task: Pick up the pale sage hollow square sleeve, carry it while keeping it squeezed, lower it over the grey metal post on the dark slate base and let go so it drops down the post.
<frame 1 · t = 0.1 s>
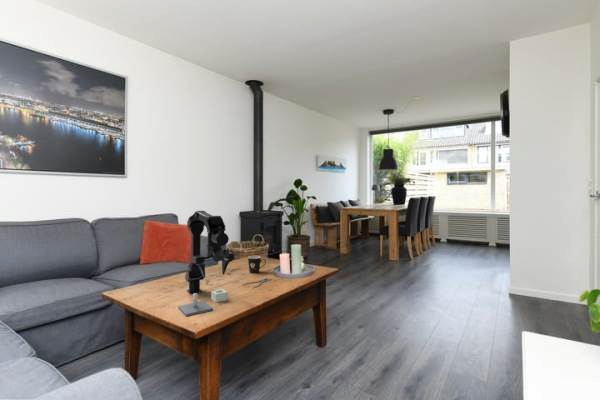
hand: (214, 276, 148), 14 cm above the table, tool pointing down, fingers open, 9 cm apart
post stand: (195, 309, 145), on the table
coffee mug: (255, 272, 211), on the table
hollow square sleeve: (219, 299, 158), on the table
pliers: (256, 283, 188), on the table
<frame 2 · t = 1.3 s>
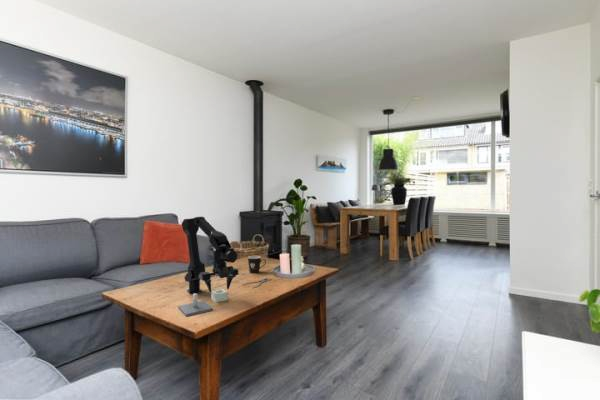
hand: (219, 290, 158), 4 cm above the table, tool pointing down, fingers open, 9 cm apart
nothing on the table moved.
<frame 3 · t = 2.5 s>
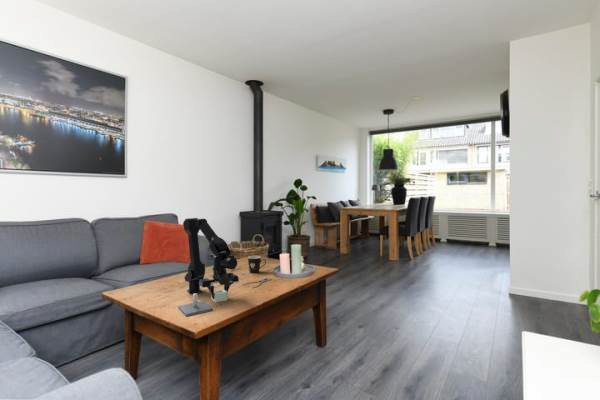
hand: (219, 297, 158), 1 cm above the table, tool pointing down, fingers closed on hollow square sleeve, 6 cm apart
hollow square sleeve: (219, 299, 158), on the table, touching gripper
everything else where it was.
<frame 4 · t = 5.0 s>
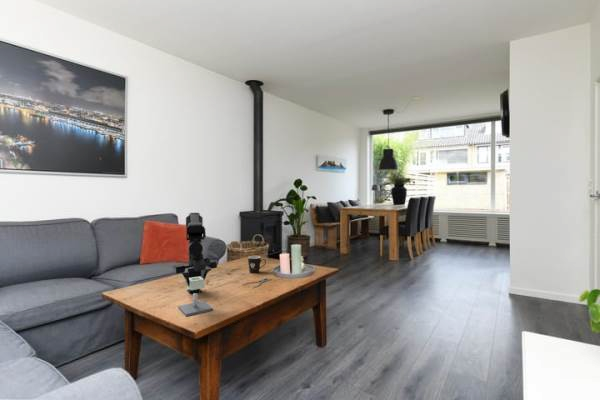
hand: (195, 285, 145), 11 cm above the table, tool pointing down, fingers closed on hollow square sleeve, 6 cm apart
hollow square sleeve: (195, 287, 145), point 10 cm above the table, touching gripper
everything else where it was.
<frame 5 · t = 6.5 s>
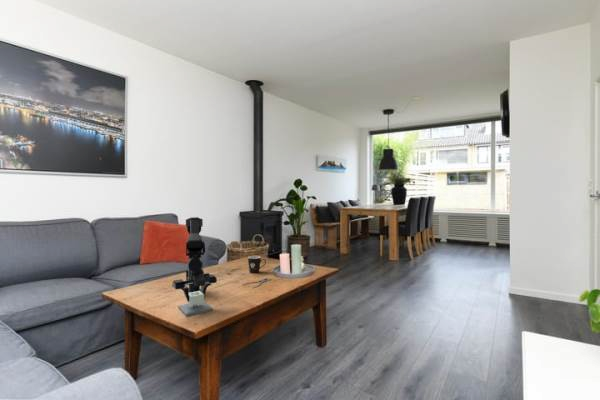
hand: (195, 300, 145), 4 cm above the table, tool pointing down, fingers closed on hollow square sleeve, 6 cm apart
hollow square sleeve: (195, 302, 145), point 3 cm above the table, touching gripper
everything else where it was.
when the fingers open (3 cm above the table, at t = 7.6 s): hollow square sleeve drops 1 cm, resting on post stand.
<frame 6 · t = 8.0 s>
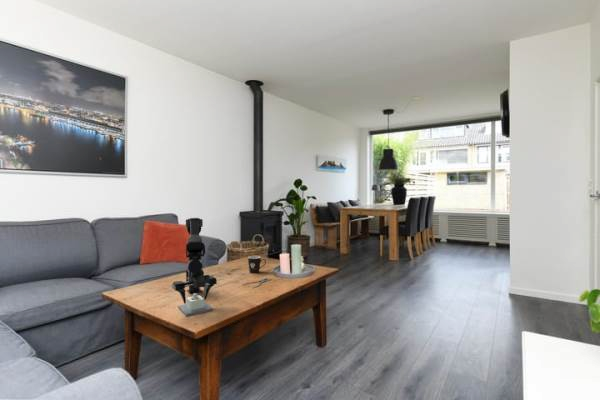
hand: (195, 301, 145), 3 cm above the table, tool pointing down, fingers open, 9 cm apart
hollow square sleeve: (195, 307, 145), point 1 cm above the table, touching post stand
everything else where it was.
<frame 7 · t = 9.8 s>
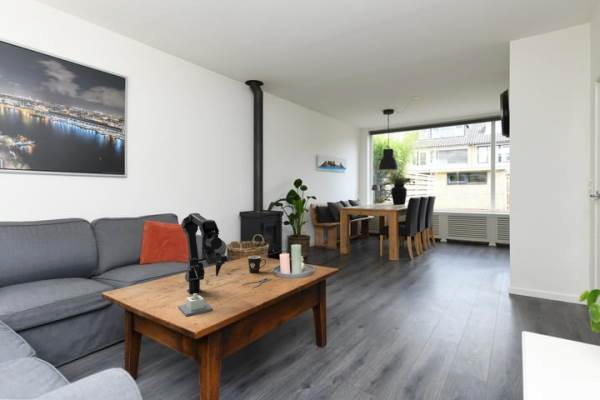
hand: (207, 277, 156), 12 cm above the table, tool pointing down, fingers open, 9 cm apart
nothing on the table moved.
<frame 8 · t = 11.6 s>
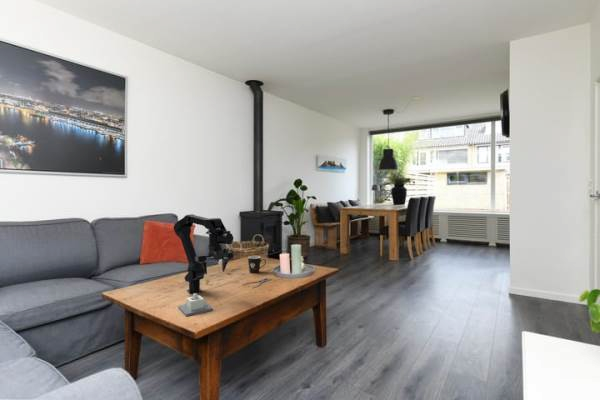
hand: (214, 273, 163), 12 cm above the table, tool pointing down, fingers open, 9 cm apart
nothing on the table moved.
at the end: hollow square sleeve 0.0 cm off-centre on the post stand, point 1.0 cm above the post stand's base; the gripper is holding nothing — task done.
